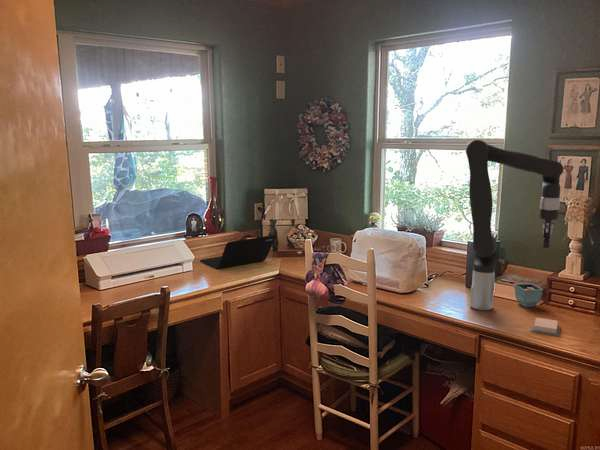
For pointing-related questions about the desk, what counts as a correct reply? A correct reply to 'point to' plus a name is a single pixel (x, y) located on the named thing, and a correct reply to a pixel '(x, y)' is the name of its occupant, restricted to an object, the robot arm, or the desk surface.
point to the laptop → (242, 252)
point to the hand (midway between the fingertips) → (546, 247)
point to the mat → (546, 332)
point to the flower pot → (527, 295)
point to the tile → (545, 325)
